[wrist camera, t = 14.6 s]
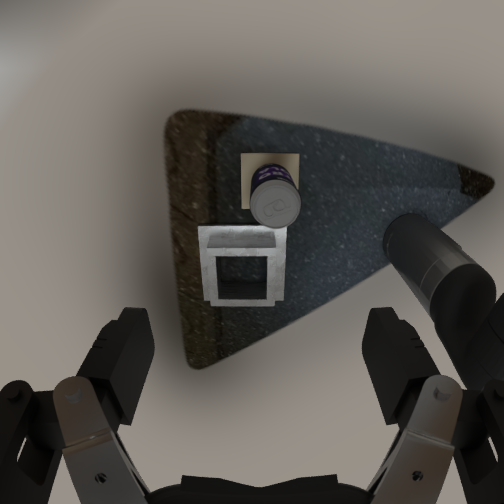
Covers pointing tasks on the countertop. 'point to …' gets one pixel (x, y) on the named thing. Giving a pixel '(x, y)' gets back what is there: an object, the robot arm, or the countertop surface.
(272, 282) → the sleeve
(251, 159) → the birch pad
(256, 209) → the beverage can
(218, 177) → the countertop surface
